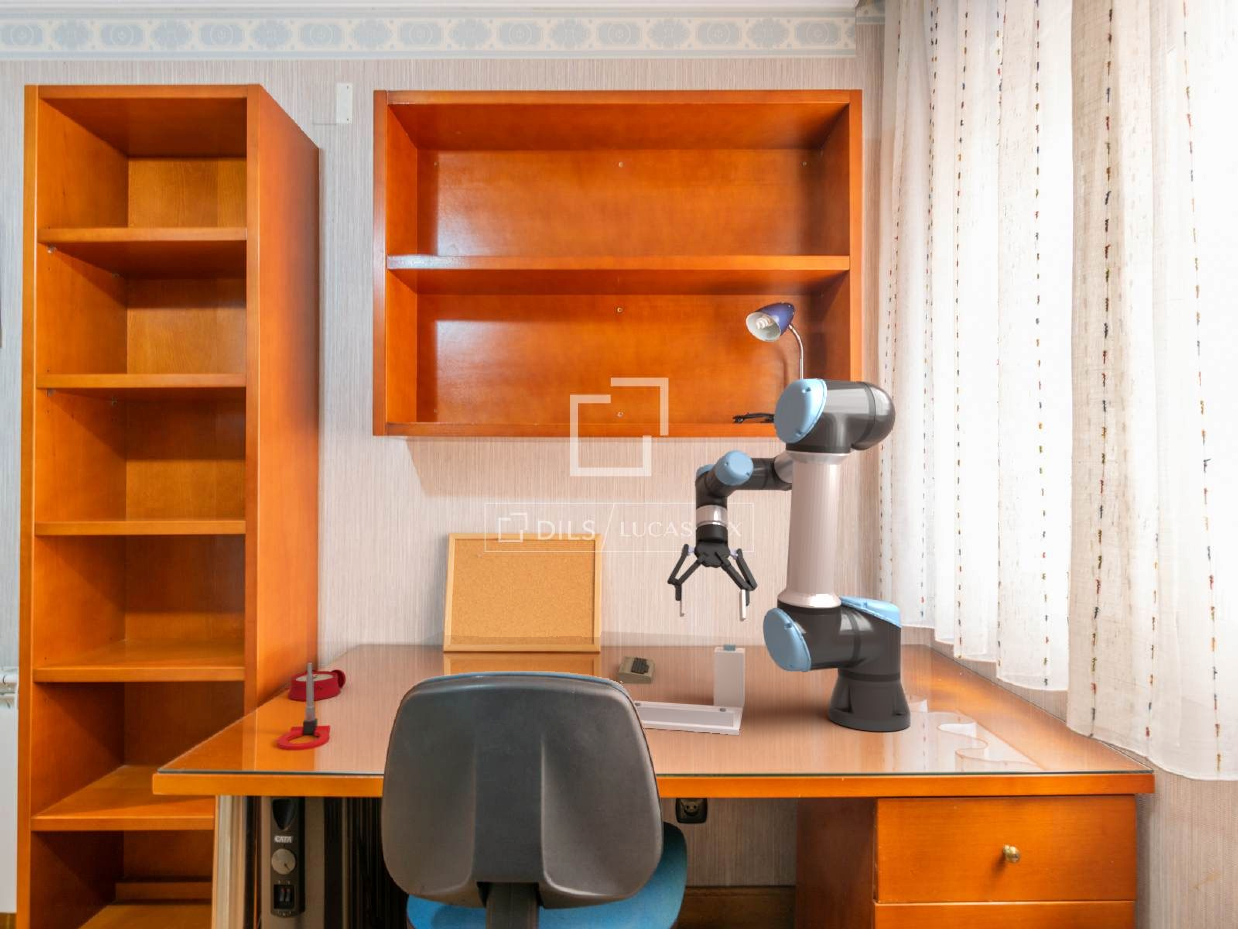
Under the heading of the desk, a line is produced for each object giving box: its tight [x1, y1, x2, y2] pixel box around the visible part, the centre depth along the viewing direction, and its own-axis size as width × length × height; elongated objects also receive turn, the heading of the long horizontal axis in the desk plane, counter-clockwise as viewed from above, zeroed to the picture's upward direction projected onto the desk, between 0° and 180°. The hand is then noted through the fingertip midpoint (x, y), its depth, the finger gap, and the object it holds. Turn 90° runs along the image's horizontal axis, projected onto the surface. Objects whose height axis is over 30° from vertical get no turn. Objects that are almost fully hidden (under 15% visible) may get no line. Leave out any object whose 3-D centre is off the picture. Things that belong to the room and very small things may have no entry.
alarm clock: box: [285, 668, 347, 703], centre depth 168 cm, size 10×6×15 cm
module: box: [713, 643, 746, 709], centre depth 162 cm, size 6×5×12 cm
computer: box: [615, 655, 656, 685], centre depth 185 cm, size 16×8×3 cm, turn 175°
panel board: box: [633, 700, 744, 736], centre depth 150 cm, size 22×14×4 cm, turn 78°
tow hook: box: [276, 662, 331, 751], centre depth 137 cm, size 8×13×9 cm
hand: (712, 617), depth 173 cm, fingers open, 13 cm apart
